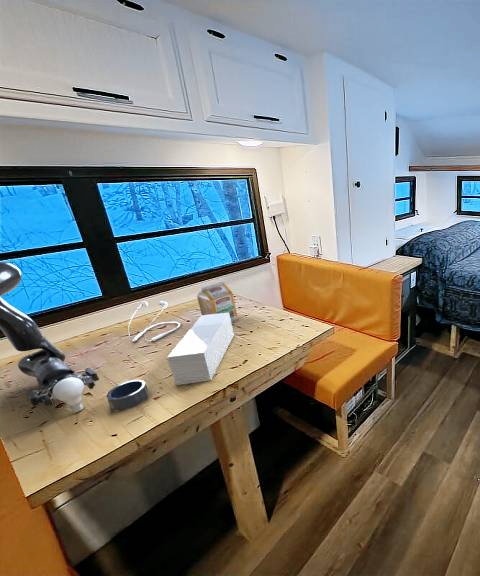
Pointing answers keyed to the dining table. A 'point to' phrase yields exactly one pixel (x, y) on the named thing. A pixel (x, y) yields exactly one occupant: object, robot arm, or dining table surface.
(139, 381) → the socket
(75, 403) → the lightbulb
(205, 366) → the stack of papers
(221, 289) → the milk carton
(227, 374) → the dining table surface
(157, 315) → the earphone
